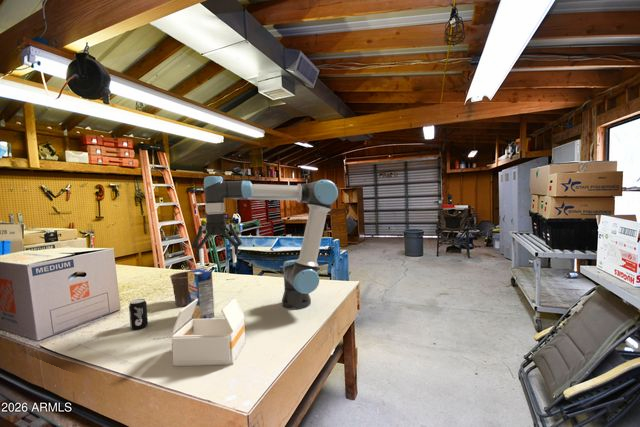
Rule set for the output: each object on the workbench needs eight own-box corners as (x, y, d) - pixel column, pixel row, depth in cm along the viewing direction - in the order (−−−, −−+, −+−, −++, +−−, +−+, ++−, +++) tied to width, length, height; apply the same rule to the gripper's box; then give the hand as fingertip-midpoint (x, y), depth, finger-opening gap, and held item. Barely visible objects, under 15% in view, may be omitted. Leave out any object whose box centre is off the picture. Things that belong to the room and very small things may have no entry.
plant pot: (190, 296, 166) (189, 269, 165) (210, 299, 159) (208, 271, 158) (165, 306, 151) (163, 276, 150) (185, 310, 144) (183, 279, 143)
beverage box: (200, 321, 128) (197, 274, 127) (190, 316, 135) (187, 271, 135) (214, 317, 133) (212, 271, 132) (203, 311, 141) (201, 268, 140)
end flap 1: (191, 318, 106) (198, 298, 105) (172, 333, 93) (181, 311, 93) (189, 317, 106) (197, 298, 105) (171, 332, 93) (179, 311, 93)
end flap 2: (244, 316, 105) (234, 297, 105) (233, 331, 93) (222, 309, 93) (243, 316, 105) (233, 297, 105) (231, 331, 93) (221, 310, 93)
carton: (246, 342, 107) (244, 316, 107) (232, 366, 92) (230, 336, 91) (194, 343, 108) (192, 318, 107) (171, 367, 92) (170, 337, 92)
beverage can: (151, 324, 127) (149, 298, 127) (137, 331, 121) (135, 304, 120) (140, 323, 129) (139, 297, 129) (126, 329, 123) (125, 302, 123)
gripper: (247, 211, 122) (250, 259, 123) (188, 214, 121) (192, 263, 122) (243, 212, 115) (246, 263, 115) (181, 215, 113) (184, 267, 114)
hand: (218, 263), depth 118 cm, fingers open, 13 cm apart
